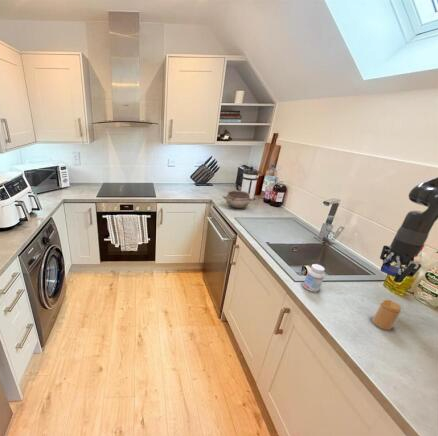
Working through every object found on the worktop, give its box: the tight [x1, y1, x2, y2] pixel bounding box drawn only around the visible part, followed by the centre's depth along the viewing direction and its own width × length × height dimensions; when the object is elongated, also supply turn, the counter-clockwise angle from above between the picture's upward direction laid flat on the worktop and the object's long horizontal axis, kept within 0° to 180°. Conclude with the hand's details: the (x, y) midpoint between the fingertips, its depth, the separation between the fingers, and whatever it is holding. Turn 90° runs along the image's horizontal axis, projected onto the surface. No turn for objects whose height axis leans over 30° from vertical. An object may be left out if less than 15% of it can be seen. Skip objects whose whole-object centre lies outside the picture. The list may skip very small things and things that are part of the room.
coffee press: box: [235, 166, 260, 201], centre depth 213 cm, size 17×16×30 cm
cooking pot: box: [222, 189, 255, 210], centre depth 196 cm, size 25×19×12 cm
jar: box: [372, 299, 402, 331], centre depth 85 cm, size 5×5×9 cm
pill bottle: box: [302, 263, 326, 293], centre depth 103 cm, size 6×6×11 cm
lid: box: [381, 264, 404, 278], centre depth 91 cm, size 6×6×2 cm
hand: (390, 276), depth 93 cm, fingers closed on lid, 6 cm apart
